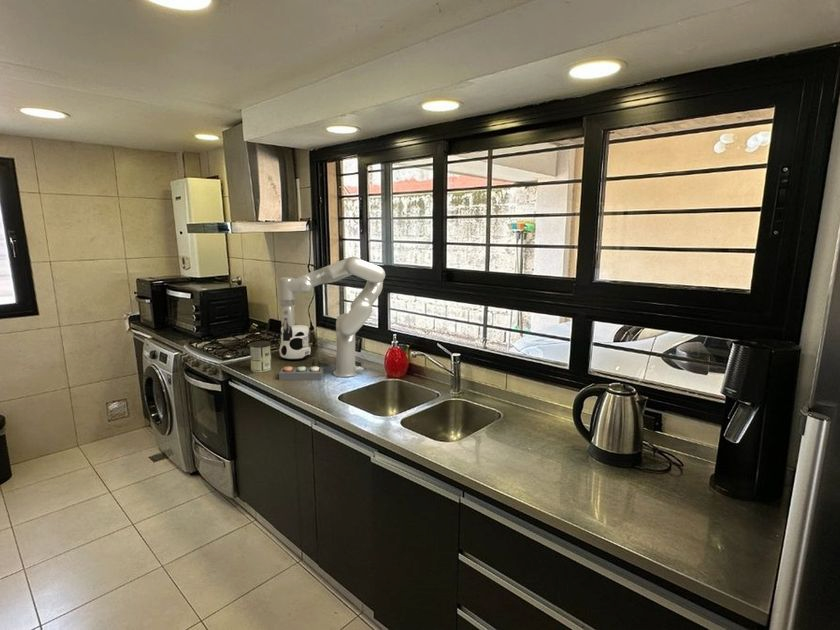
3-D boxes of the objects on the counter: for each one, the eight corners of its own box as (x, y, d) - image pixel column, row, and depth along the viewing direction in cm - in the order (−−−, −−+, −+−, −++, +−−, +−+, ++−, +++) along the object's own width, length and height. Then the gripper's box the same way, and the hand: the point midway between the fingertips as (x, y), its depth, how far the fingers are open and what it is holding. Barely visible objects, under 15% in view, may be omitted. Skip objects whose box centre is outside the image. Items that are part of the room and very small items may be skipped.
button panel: (323, 374, 222) (323, 367, 222) (321, 380, 213) (321, 373, 213) (282, 374, 220) (282, 367, 219) (279, 380, 210) (278, 373, 210)
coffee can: (256, 365, 232) (255, 340, 229) (274, 367, 231) (274, 341, 228) (246, 371, 222) (246, 344, 219) (266, 372, 221) (265, 346, 218)
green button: (306, 370, 218) (306, 366, 218) (305, 372, 214) (305, 368, 214) (298, 370, 218) (298, 366, 217) (296, 372, 214) (296, 368, 213)
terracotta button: (293, 370, 217) (293, 366, 217) (291, 372, 213) (291, 368, 213) (284, 370, 217) (284, 366, 216) (283, 372, 213) (283, 368, 213)
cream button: (319, 370, 219) (319, 366, 219) (318, 372, 215) (318, 368, 215) (311, 370, 219) (311, 366, 218) (310, 372, 215) (310, 368, 214)
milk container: (280, 354, 255) (279, 324, 252) (310, 353, 260) (310, 324, 257) (278, 362, 239) (278, 330, 236) (311, 361, 244) (310, 330, 241)
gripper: (292, 305, 201) (292, 343, 204) (298, 300, 218) (298, 335, 221) (275, 305, 200) (276, 343, 203) (282, 300, 217) (283, 335, 220)
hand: (287, 338), depth 212 cm, fingers open, 5 cm apart
